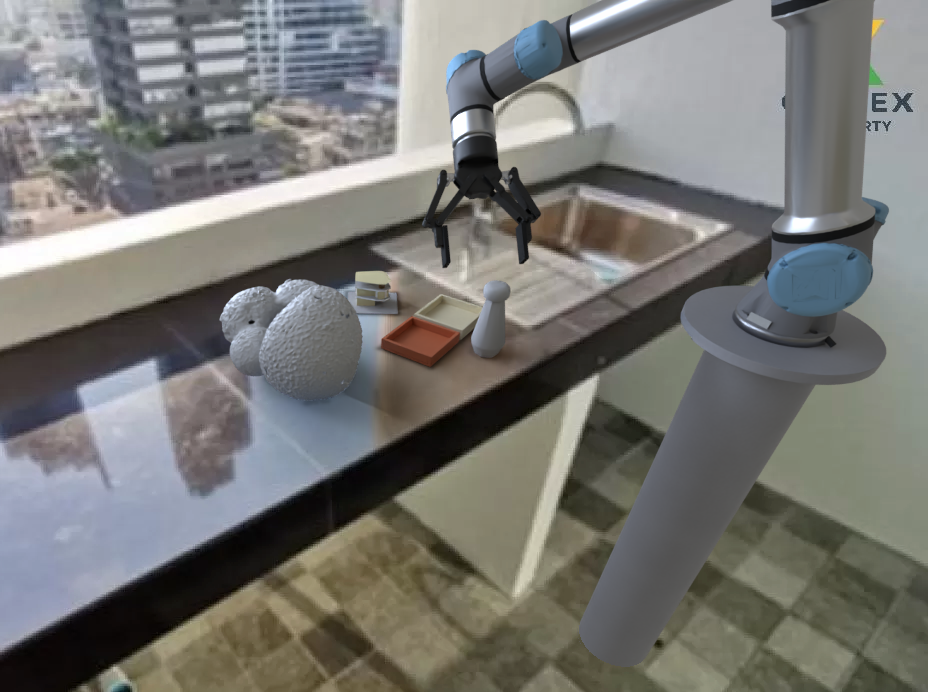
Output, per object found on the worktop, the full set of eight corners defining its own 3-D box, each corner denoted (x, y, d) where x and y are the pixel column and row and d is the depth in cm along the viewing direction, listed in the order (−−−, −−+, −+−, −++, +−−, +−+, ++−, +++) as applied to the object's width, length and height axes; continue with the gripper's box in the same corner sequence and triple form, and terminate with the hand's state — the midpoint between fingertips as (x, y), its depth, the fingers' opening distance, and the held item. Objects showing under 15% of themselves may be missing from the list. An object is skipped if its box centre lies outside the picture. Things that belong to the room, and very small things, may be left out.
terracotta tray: (458, 341, 110) (460, 332, 108) (430, 367, 103) (431, 357, 102) (410, 325, 114) (411, 315, 113) (380, 348, 108) (381, 338, 107)
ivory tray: (486, 317, 116) (488, 308, 115) (461, 340, 110) (462, 330, 109) (439, 302, 121) (441, 293, 120) (413, 323, 115) (413, 313, 114)
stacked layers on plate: (346, 313, 118) (346, 287, 115) (348, 292, 125) (348, 267, 121) (397, 314, 118) (399, 288, 114) (396, 292, 124) (398, 267, 121)
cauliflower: (323, 286, 111) (289, 208, 91) (397, 387, 102) (378, 325, 81) (231, 347, 112) (176, 284, 91) (296, 454, 102) (251, 409, 82)
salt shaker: (509, 351, 107) (523, 283, 98) (490, 364, 104) (503, 295, 95) (481, 339, 110) (493, 272, 102) (462, 351, 107) (473, 284, 99)
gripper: (535, 154, 110) (547, 267, 108) (400, 159, 108) (409, 274, 107) (552, 130, 102) (565, 251, 101) (407, 135, 101) (418, 258, 99)
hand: (485, 263), depth 104 cm, fingers open, 13 cm apart
